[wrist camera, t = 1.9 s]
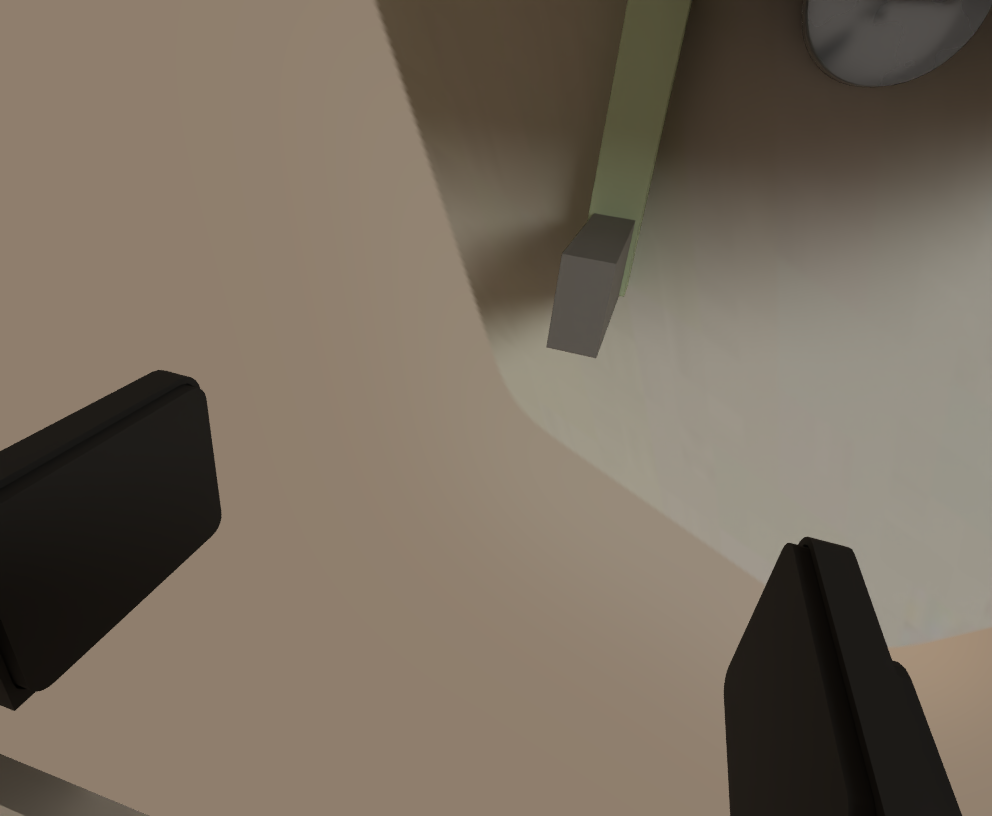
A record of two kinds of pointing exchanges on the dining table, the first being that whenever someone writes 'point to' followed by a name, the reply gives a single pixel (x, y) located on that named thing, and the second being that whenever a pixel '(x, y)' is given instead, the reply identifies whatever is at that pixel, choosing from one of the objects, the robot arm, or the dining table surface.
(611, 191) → the scraper tool
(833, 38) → the grey rounded piece
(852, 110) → the dining table surface
